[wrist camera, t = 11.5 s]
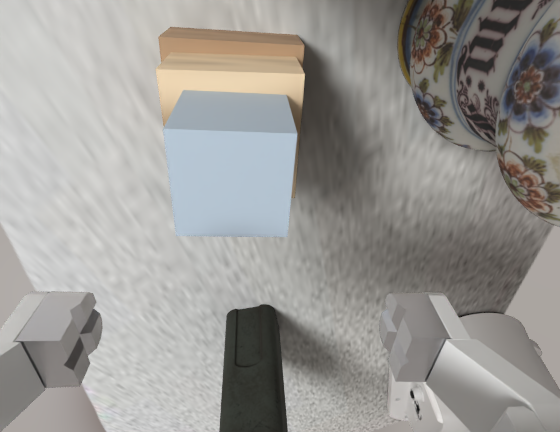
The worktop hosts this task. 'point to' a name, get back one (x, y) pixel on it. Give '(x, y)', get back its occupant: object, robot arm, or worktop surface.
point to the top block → (232, 80)
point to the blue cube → (231, 163)
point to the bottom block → (229, 43)
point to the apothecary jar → (492, 85)
